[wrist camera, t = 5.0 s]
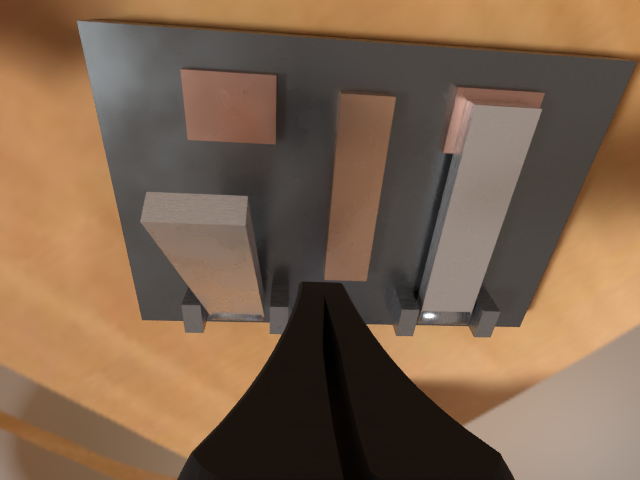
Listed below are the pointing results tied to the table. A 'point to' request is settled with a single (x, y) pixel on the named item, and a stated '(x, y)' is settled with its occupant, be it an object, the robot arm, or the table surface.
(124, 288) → the table surface
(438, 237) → the bar
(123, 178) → the plate
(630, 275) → the table surface
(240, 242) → the bar
